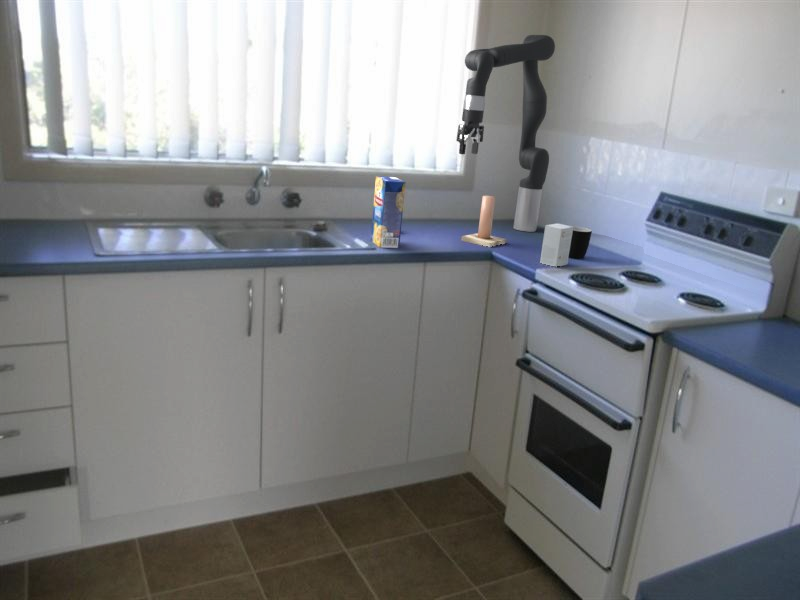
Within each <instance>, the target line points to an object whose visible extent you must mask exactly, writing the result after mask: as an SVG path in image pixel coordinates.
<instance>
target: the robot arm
mask: <svg viewBox="0 0 800 600" xmlns="http://www.w3.org/2000/svg"><path fill="white" fill-rule="evenodd" d="M555 50H556V44H555V40H554V39H553V38H552V37H551V36H550V35H548V34H547V35H546V34H529V35H527V36H526V37H524V40H523V42H522V43H516V44H515V43H514V44H505V45H504V44H503V45H498V46H495V47H490V48H481V49H472V50H470V51H469V52H468V53H467V54H466V56H465V59H464V65H465V66H466V68H467V69H468V70H470V71H473V72H475V74H474V76H473V77H471V78H468V80H467V81H466V88H465V96H464V99H463V107H462V114H461V115H462V116H461V121H462V122H464V123H463V124H458V127H457V128H458V129H457V132H456V133H457V134H456V142H458V143H459V148H458V149H459V150H458V154H459V155H465V154H466V150H467V143H468V140H470V139H471V141H472V145H471V154H473V155H477V154H478V152H479V145H480V143H483V142H484V133H485V132H484V130H485V126H484V125H480V124H482V123H483V119H484V112H485V104H486V89H487V85H488V82H489V79H490V77H491V73H492V71H493V68H500V67H505V66H508V65H513V64H517V63H522V74H523V76H522V79H523V81H522V82H523V84H522V86H523V90H522V91H523V93H522V121H521V137H520V144H519V153H518V161H519V162H518V163H519V165H520V167H521V169H523V170H528V171H529V174H528V175H527V176H526V177H525V178H524V177H523V178H521V179H520V180H519V187H518V191H517V192H518V193H517V200H516V207H515V214H514V220H513V221H514V222H513V229H514V230H516V231H522V232H529V233H531V232H536V231H537V227H538V221H539V215H540V214H539V213H540V206H541V199H542V192H543V186H544V184H545V182H546V179H547V174H548V169H549V163H550V154H549V152H548V150H547V149H546V148H542V147H536V138H537V137H536V136H537V134H538V131H539V128H540V127H541V125H542V123H543V121H544V120H545V117H546V114H547V108H548V107H547V105H548V104H547V103H548V98H547V97H548V95H547V92H546V88H545V87H544V85H543V83H542V80H541V78H540V76H539V75H540V74H539V67H538V66H539V65H538V63H539V62H542V61H548V60H549V59H551V58H552V56H553V55H554V53H555Z"/></svg>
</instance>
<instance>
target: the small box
mask: <svg viewBox="0 0 800 600" xmlns="http://www.w3.org/2000/svg"><path fill="white" fill-rule="evenodd" d="M572 226H573V225H566V224H563V223H558V222H557V223H552V224H546V225H545V226H544V231H543V232H544V233H543V238H542V239H543V240H542V246H541V254H540V259H539V260H540V261H539V264H540V263H542V264H541V265H543V264H546V265H545V266H547V265H550V266H549V267H551V266H556V268H558V267H557V266H560V267H562V266H567V265H569V264H568V262H569V258H568V257H569V251H570V245H571V238H572V232H573V227H572Z"/></svg>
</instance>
